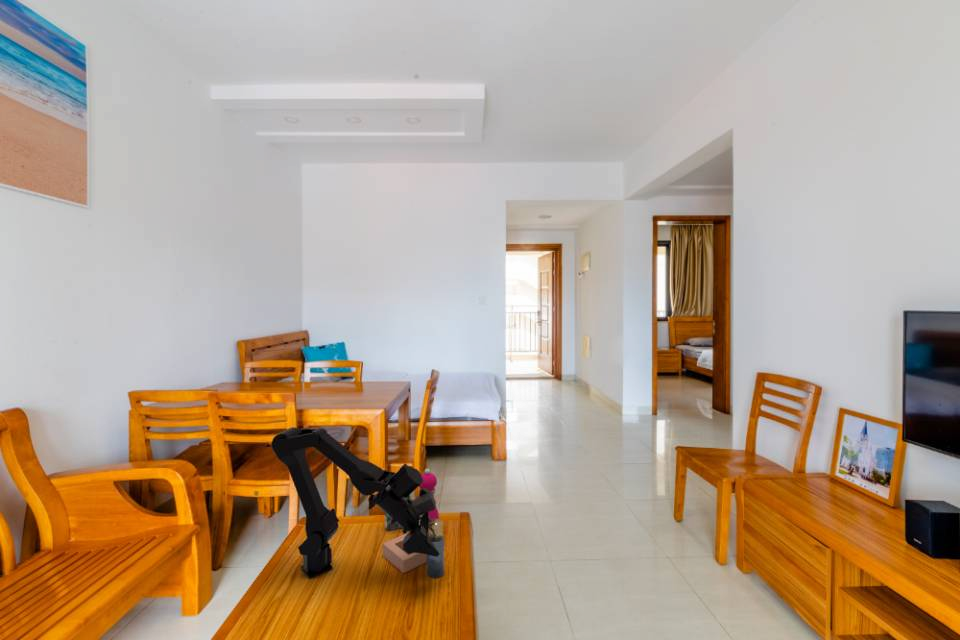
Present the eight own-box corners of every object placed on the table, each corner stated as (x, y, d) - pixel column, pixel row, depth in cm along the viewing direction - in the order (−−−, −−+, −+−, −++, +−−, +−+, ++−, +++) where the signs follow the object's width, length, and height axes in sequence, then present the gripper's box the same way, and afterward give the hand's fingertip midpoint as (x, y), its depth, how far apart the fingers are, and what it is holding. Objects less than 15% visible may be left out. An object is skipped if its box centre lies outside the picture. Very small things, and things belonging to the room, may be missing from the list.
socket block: (403, 573, 118) (403, 560, 117) (382, 555, 126) (382, 543, 126) (436, 557, 125) (436, 545, 125) (414, 541, 133) (414, 529, 133)
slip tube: (433, 580, 115) (433, 528, 114) (423, 572, 118) (423, 521, 117) (447, 573, 118) (447, 522, 117) (437, 565, 121) (437, 516, 120)
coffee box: (385, 531, 138) (385, 491, 138) (384, 527, 141) (384, 487, 140) (410, 527, 141) (410, 487, 141) (409, 522, 144) (408, 483, 143)
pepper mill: (440, 525, 143) (440, 464, 142) (436, 537, 135) (436, 473, 134) (418, 523, 143) (418, 463, 142) (413, 535, 136) (413, 472, 135)
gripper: (416, 501, 107) (461, 542, 109) (419, 470, 125) (458, 506, 127) (383, 534, 107) (429, 575, 108) (391, 499, 125) (430, 534, 127)
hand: (438, 544), depth 118 cm, fingers open, 9 cm apart
